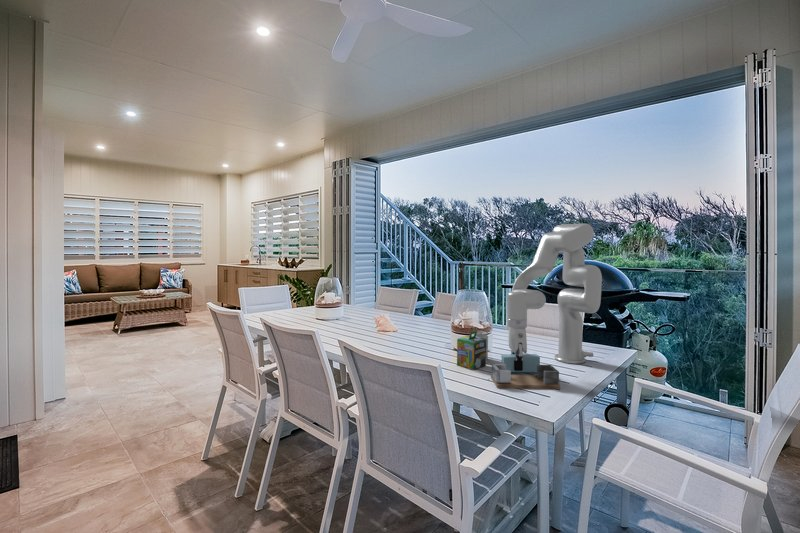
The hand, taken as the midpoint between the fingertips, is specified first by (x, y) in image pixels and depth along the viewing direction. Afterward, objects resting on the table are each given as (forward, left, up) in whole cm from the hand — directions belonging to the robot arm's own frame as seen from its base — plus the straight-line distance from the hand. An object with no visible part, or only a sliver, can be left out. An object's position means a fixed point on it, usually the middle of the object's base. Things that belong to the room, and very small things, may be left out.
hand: (516, 367), depth 157 cm
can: (+12, -19, -2) cm, 22 cm away
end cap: (+9, +12, 0) cm, 15 cm away
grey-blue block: (-2, 0, -1) cm, 2 cm away
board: (+1, +12, -2) cm, 13 cm away
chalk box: (+17, -9, -2) cm, 19 cm away
